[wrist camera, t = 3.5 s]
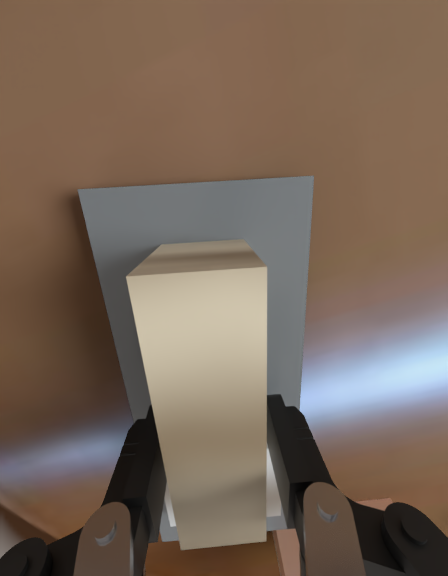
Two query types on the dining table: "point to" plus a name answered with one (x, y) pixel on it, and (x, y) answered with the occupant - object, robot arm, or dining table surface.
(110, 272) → the plate
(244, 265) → the beige stepped block
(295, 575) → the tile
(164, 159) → the dining table surface
